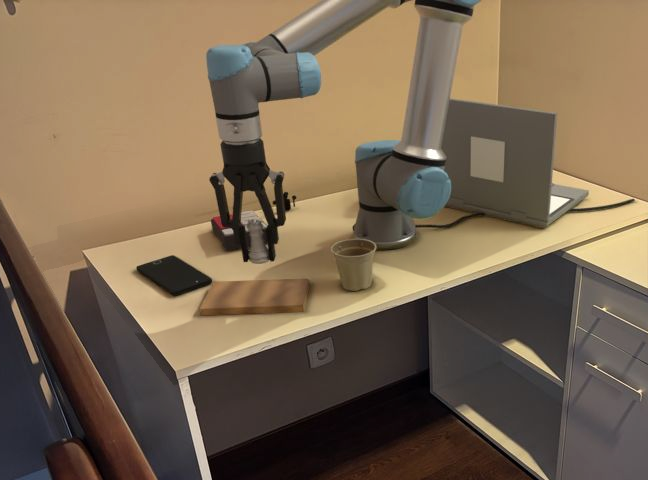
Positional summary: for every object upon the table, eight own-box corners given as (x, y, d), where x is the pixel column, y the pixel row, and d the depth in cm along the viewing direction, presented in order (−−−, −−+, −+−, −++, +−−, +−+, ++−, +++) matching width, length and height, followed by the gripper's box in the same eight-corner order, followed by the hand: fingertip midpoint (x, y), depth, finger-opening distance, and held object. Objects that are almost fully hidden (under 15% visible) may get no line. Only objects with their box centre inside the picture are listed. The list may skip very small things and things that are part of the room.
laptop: (587, 199, 189) (599, 92, 174) (546, 231, 170) (555, 113, 155) (479, 178, 205) (481, 78, 190) (430, 204, 186) (428, 96, 171)
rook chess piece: (276, 257, 136) (271, 219, 132) (262, 266, 133) (256, 227, 128) (258, 253, 138) (252, 216, 133) (243, 262, 134) (237, 223, 130)
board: (309, 284, 145) (309, 278, 145) (304, 311, 135) (303, 304, 135) (214, 287, 144) (213, 281, 143) (201, 315, 134) (199, 308, 133)
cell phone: (173, 258, 157) (172, 254, 156) (213, 282, 146) (212, 278, 145) (136, 270, 151) (135, 266, 151) (174, 296, 141) (173, 292, 140)
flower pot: (335, 275, 149) (331, 239, 144) (379, 274, 150) (376, 237, 145) (333, 295, 141) (329, 257, 136) (378, 294, 142) (376, 255, 137)
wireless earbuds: (275, 214, 180) (272, 196, 177) (270, 212, 182) (268, 193, 179) (298, 208, 184) (296, 190, 181) (293, 206, 186) (291, 188, 183)
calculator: (253, 208, 174) (269, 224, 162) (256, 224, 176) (272, 242, 164) (209, 216, 169) (223, 233, 158) (212, 232, 171) (226, 251, 160)
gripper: (186, 146, 119) (210, 268, 131) (287, 144, 120) (302, 265, 132) (196, 134, 125) (219, 252, 138) (293, 133, 126) (306, 250, 139)
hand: (259, 258), depth 135 cm, fingers closed on rook chess piece, 4 cm apart
